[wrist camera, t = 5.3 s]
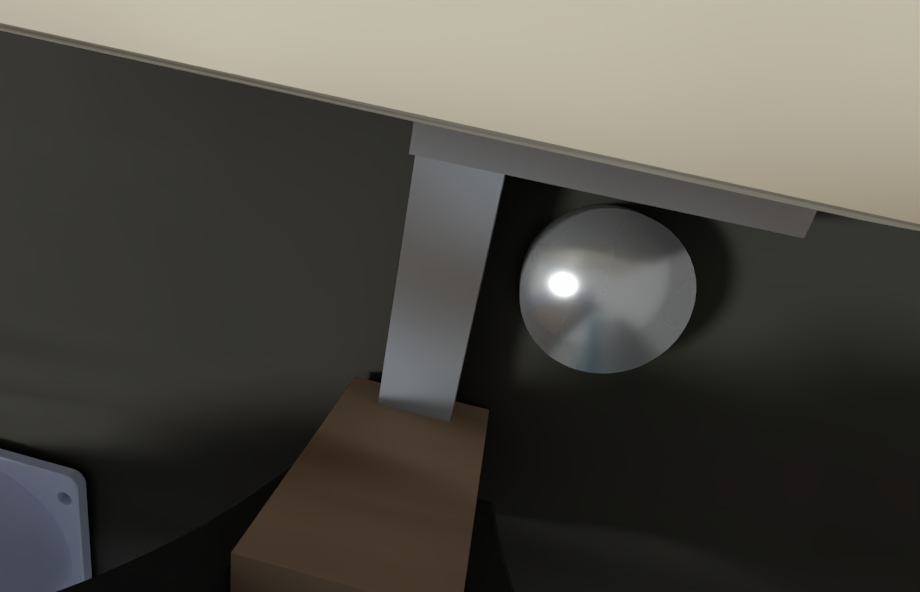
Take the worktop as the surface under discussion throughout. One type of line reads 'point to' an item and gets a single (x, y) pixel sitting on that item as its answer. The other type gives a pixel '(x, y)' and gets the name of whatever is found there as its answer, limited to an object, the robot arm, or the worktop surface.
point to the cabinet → (577, 78)
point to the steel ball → (606, 289)
